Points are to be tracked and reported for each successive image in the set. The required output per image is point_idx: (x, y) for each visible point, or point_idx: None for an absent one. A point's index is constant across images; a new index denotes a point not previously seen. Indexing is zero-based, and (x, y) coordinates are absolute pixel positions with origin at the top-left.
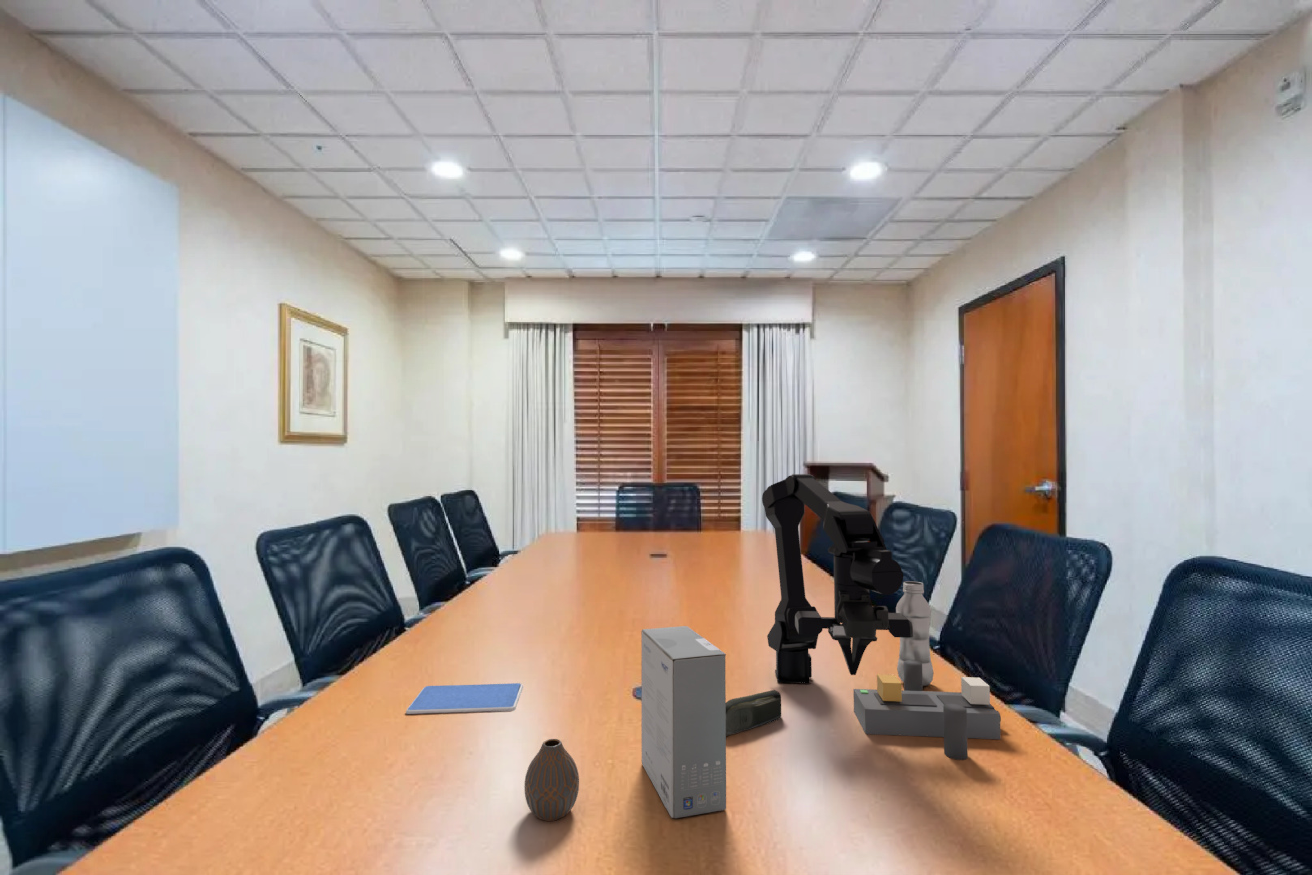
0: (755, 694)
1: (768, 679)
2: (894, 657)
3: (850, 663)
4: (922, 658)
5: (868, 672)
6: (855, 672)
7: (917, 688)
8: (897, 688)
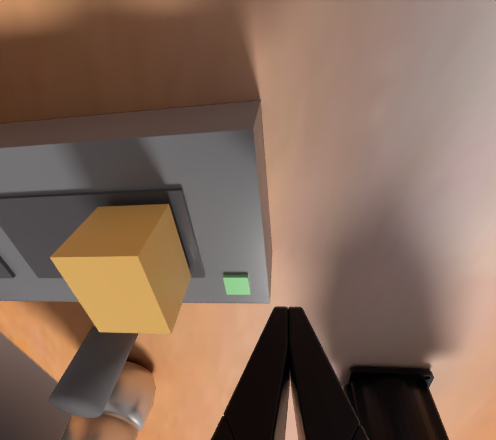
0: None
1: (446, 381)
2: (169, 434)
3: (312, 367)
4: (77, 424)
5: (215, 400)
6: (275, 317)
7: (96, 330)
8: (83, 238)
